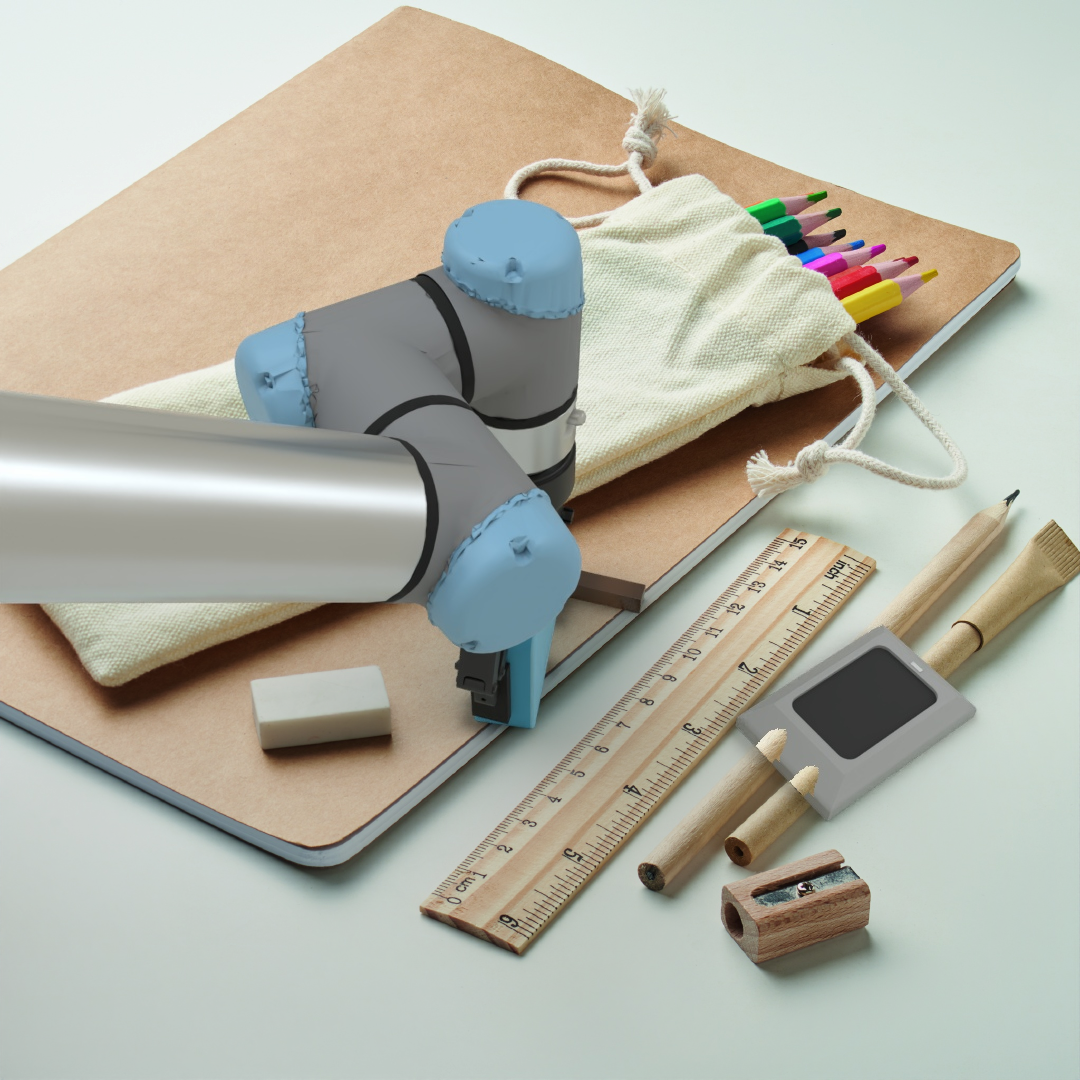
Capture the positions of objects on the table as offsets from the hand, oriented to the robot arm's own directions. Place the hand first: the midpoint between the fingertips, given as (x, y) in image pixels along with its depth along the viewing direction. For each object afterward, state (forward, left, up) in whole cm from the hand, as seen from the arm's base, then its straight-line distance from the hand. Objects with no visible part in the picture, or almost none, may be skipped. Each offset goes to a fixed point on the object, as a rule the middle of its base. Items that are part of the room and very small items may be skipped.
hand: (518, 645), depth 91 cm
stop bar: (+1, +8, -3) cm, 9 cm away
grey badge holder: (+24, +8, -3) cm, 26 cm away
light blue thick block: (0, 0, -3) cm, 3 cm away
